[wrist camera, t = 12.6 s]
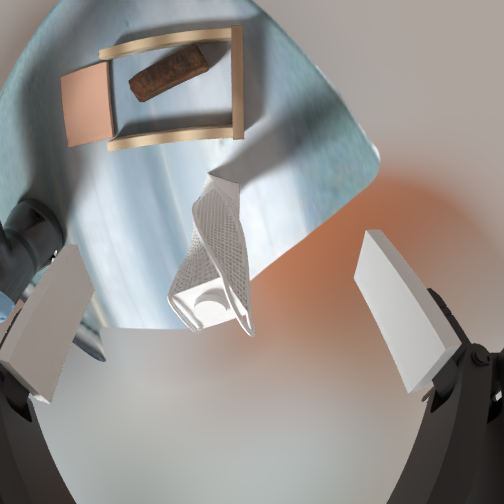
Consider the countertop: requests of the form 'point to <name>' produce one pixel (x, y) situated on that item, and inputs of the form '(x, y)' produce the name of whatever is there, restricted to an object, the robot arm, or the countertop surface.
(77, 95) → the tile
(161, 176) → the countertop surface
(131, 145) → the channel
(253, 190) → the countertop surface
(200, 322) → the skyscraper
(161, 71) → the brick
